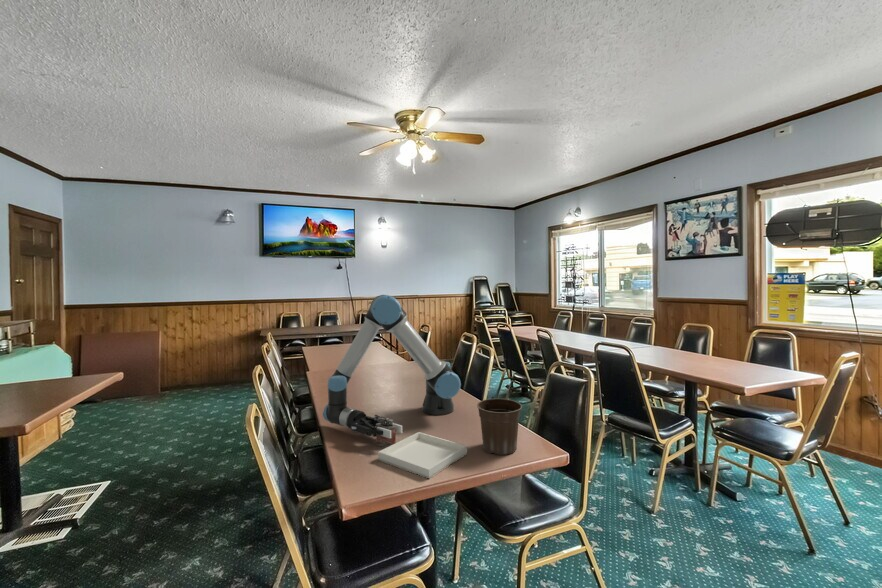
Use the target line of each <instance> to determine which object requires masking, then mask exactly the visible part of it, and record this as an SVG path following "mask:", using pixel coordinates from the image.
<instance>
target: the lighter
mask: <svg viewBox="0 0 882 588" xmlns="http://www.w3.org/2000/svg"><path fill="white" fill-rule="evenodd" d="M384 418H386V419H384ZM384 418H378V422H381V423H377V424H376V426H375V427H376V429H377V427H381V428H385V429H388V430H391V438H386V437H383V436H380V435H377V434H376V437H375V438H376V439H375V440H376V441H375V446H380V447H383V446H385V447H384V448H387V447H389V446H391V445H393V444H395V443H397V442H396V437H397V436H396V432H395V428H396V425H393V423H394V419H392V420H391V418H389V417H384ZM383 422H384V423H383Z"/></svg>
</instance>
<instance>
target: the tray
mask: <svg viewBox="0 0 882 588" xmlns="http://www.w3.org/2000/svg"><path fill="white" fill-rule="evenodd" d="M377 453H378V454H377V461H379V462H381V463H384V464H386V463H387V464H386V465H389V464H390V466H392V465H393V466H392V467H394V466H396V467H395V468H397V467H398V468H397V469H400V468H401V469H400V470H403V469H404V470H403V471H405V470H407V471H406V472H408V471H409V473H411V472H412V473H411V474H413V473H415V474H414V475H416V474H418V475H417V476H419V475H420V476H419V477H421V476H423V477H422V478H424V477H426V478H425V479H427V478H431V477H432V476H433V475H435V474H436V473H438V472H439V471H440V470H442V469H444V468H445V467H447V466H448V465H450V464H452V463H453V462H455V461H456V462H457V460H458V459H459V460H461V459H462V458H464V457H465V456H467V455H468V445H466V444H462V443H459V442H455V441H452V440H448V439H445V438H441V437H437V436H435V435H430V434H428V433H424V432H420V431H418V432H416V433H414V434H411V435H410V436H407V437H405V438H404V439H401V440H400V441H397V442H396V443H395V444H393V445H391V446H389V447H384V448H383V449H381V450H379V451H378V452H377ZM464 455H465V456H464ZM461 457H462V458H461ZM459 460H458V461H459ZM456 462H455V463H456ZM453 464H454V463H453ZM453 464H452V465H453ZM450 466H451V465H450ZM447 468H448V467H447ZM444 470H445V469H444ZM438 474H439V473H438ZM435 476H436V475H435ZM432 478H433V477H432ZM432 478H431V479H432Z"/></svg>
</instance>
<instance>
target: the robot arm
mask: <svg viewBox="0 0 882 588" xmlns="http://www.w3.org/2000/svg"><path fill="white" fill-rule="evenodd" d="M380 329H383V330H384V331H385V332H387V333H391V334H392V335H393V337H395V339H396V340H397V342H398V343H400V345H401V346H402V347H403V349H404V350H405V351H406V352H407V353H408V354H409V356H410V357H411V359H412V360H413V361H414V362H415V363H416V364H417V366H418V367H419V368H420V369H421V370H422V372H423V373H424V379H425V396H424V399H423V403H422V408H421V410H422V412H423V413H425V414H426V415H427V414H428V415H435V416H439V415H441V416H442V415H449V414H451V413H453V412H454V410H455V408H454V407H455V406H454V401H453V400H452V398H454V397H456V396H457V394H459V392H460V390H461V386H462V383H461V382H462V381H461V379H460V377H459V375H458V374H456V373H455V372H454V371H453V370H452V369H451V363H450V362H449V361H443V360H440V359H439V358H438V357H437V355H436V354H435V353H434V351H433V350H432V349H431V347H429V346H428V344H427V343H426V342H425V340H424V339H423V338H422V337H421V335H420V334H419V333H418V331H416V329H415V328H414V327H413V326H412V324H411V323H410V321H409V320H408V314H407V312H406V311H405V310H404V308H403V307H402V306H401V304H400V302H399V300H398V299H397V298H396V297H394V296H392V295H389V294H388V295H387V294H380V295H378V296H376V297H374V298H373V300H371V303H370V305H369V308H368V310H367V311H366V314H365V316H364V321H363V323H362V325H361V327H359V330H358V332H357V334H356V335H355V337H354V339H353V340H352V342H351V343H350V346H349V347H348V349H347V350H346V353H345V354H344V355H343V358H342V359H341V361H340V363H339V364H338V366H337V367H336V369H335V370H334V372H333V374H332V375H331V376H330V377H329V378H328V380H327V391H328V392H327V393H328V394H327V397H328V399H327V400H328V402H327V403H328V404H326V405H325V407H324V408H323V411H322V417H323V419H324V420H325V421H327V422H328V423H331V424H334V425H337V426H341V427H345V428H347V429H350V430H351V431H352V432H357V433H360V434H361V435H365V436H368V437H370V436H372V437H374V438H376V434H377V435H380V436H383V437H386V438H391V430H388V429H385V428H381V427H377V429H376V424H377V423H381V422H378V418H384V419H386V418H387V417H383V416H380V415H378V414H374V417H372V416H368V415H367V414H366V413H365V412H364V411H361V410H360V409H359V410H358V409H355V408H351V407H349V406H348V405H347V404H348V401H347V398H348V396H347V393H348V391H347V390H348V383H349V382H350V380H351V379H352V376H353V374H355V371H357V370H356V369H357V368H358V366H359V364H360V363H361V361H362V359H363V357H364V356H365V354H366V352H367V351H368V349H369V348H370V346H371V344H372V342H373V341H374V339H375V337H376V336H377V333H378V332H379V331H380ZM390 419H391V418H390ZM391 420H393V419H391ZM383 423H384V422H383ZM393 425H396V428H395V433H398V434H403V425H401V424H398V423H394V422H393Z"/></svg>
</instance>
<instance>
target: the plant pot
mask: <svg viewBox="0 0 882 588" xmlns="http://www.w3.org/2000/svg"><path fill="white" fill-rule="evenodd" d="M476 407H477V408H478V416H479V418H480V427H481V437H482V448H483V449H484V451H485V452H487V453H489V454H492V453H493V454H494V455H496V454H498V456H506V455H511V454H514V452H515V451H517V445H518V435H519V433H518V431H519V423H520V418H521V410H522V409H523V405H522V404H521V403H520V402H518V401H516V400H512V399H507V398H486V399H484V400H480V401H478V402H477V404H476Z"/></svg>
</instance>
